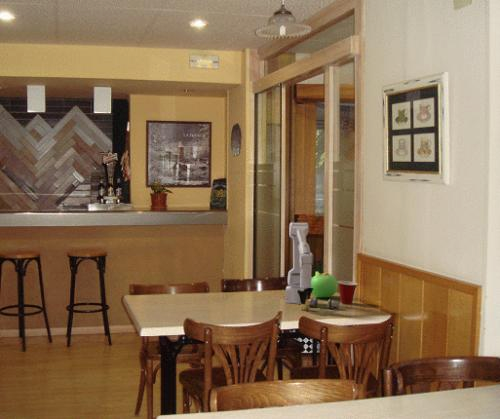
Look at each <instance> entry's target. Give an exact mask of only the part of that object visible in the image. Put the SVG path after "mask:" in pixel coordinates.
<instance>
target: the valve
mask: <svg viewBox="0 0 500 419" xmlns="http://www.w3.org/2000/svg"><path fill="white" fill-rule="evenodd" d="M307 297H308V296H307ZM307 297H306V303H305V304H300V311H301V312H309V311H310V308H309V298H307Z"/></svg>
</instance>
